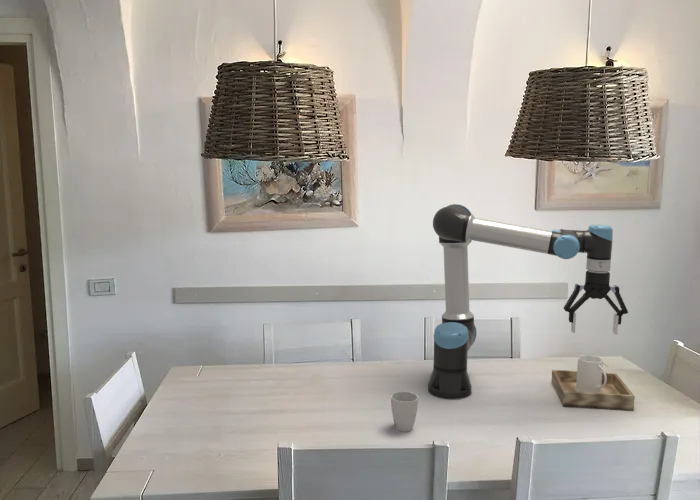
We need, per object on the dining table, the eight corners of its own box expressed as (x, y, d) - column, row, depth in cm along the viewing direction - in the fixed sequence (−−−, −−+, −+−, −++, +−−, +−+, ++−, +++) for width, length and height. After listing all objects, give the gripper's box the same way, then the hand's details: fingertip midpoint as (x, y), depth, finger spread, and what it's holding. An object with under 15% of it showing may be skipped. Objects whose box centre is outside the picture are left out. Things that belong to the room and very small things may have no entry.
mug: (613, 398, 205) (616, 364, 203) (592, 401, 202) (594, 366, 201) (590, 386, 216) (592, 353, 214) (570, 388, 213) (571, 355, 212)
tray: (563, 406, 200) (564, 392, 199) (551, 382, 222) (552, 369, 221) (633, 410, 197) (634, 396, 196) (614, 386, 218) (615, 372, 218)
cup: (400, 419, 190) (401, 389, 188) (422, 427, 185) (423, 395, 183) (385, 428, 184) (385, 397, 182) (407, 436, 179) (408, 404, 177)
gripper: (561, 271, 201) (557, 333, 204) (641, 274, 197) (636, 337, 201) (557, 268, 208) (553, 327, 212) (633, 270, 205) (629, 331, 208)
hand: (593, 332), depth 206 cm, fingers open, 13 cm apart
